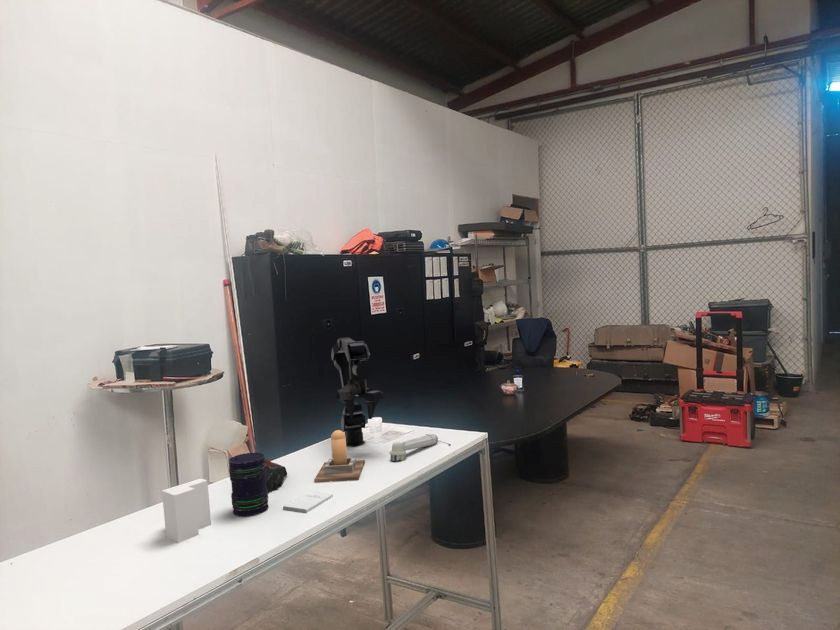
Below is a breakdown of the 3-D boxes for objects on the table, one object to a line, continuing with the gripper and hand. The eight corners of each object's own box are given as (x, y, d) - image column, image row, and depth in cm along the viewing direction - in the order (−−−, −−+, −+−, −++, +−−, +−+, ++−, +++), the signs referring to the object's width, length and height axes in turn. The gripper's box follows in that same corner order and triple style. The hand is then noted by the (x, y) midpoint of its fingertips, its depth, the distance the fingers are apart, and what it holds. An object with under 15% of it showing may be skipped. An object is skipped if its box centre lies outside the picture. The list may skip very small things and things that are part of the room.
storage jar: (272, 502, 169) (268, 451, 169) (265, 515, 160) (261, 461, 159) (237, 505, 169) (233, 454, 168) (228, 518, 159) (223, 464, 158)
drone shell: (256, 499, 173) (254, 473, 173) (216, 489, 185) (214, 464, 184) (309, 478, 190) (307, 453, 190) (270, 470, 202) (268, 447, 201)
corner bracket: (178, 542, 145) (174, 495, 145) (157, 532, 153) (153, 487, 152) (217, 527, 153) (214, 482, 153) (196, 518, 161) (192, 475, 160)
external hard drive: (283, 511, 163) (310, 495, 174) (306, 515, 159) (333, 498, 170) (282, 506, 163) (309, 490, 174) (306, 509, 159) (332, 493, 170)
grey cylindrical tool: (439, 434, 219) (398, 441, 199) (439, 452, 219) (398, 461, 199) (428, 432, 222) (386, 440, 202) (427, 450, 222) (386, 459, 202)
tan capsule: (331, 468, 194) (328, 430, 193) (345, 466, 196) (342, 427, 195) (335, 472, 190) (332, 433, 189) (349, 469, 192) (347, 430, 191)
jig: (324, 465, 202) (324, 455, 202) (364, 462, 202) (364, 452, 202) (314, 482, 184) (313, 472, 184) (358, 479, 184) (357, 469, 184)
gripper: (323, 378, 211) (326, 420, 212) (361, 380, 200) (365, 425, 201) (345, 373, 220) (348, 414, 221) (382, 375, 209) (385, 418, 210)
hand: (360, 418), depth 213 cm, fingers open, 9 cm apart
